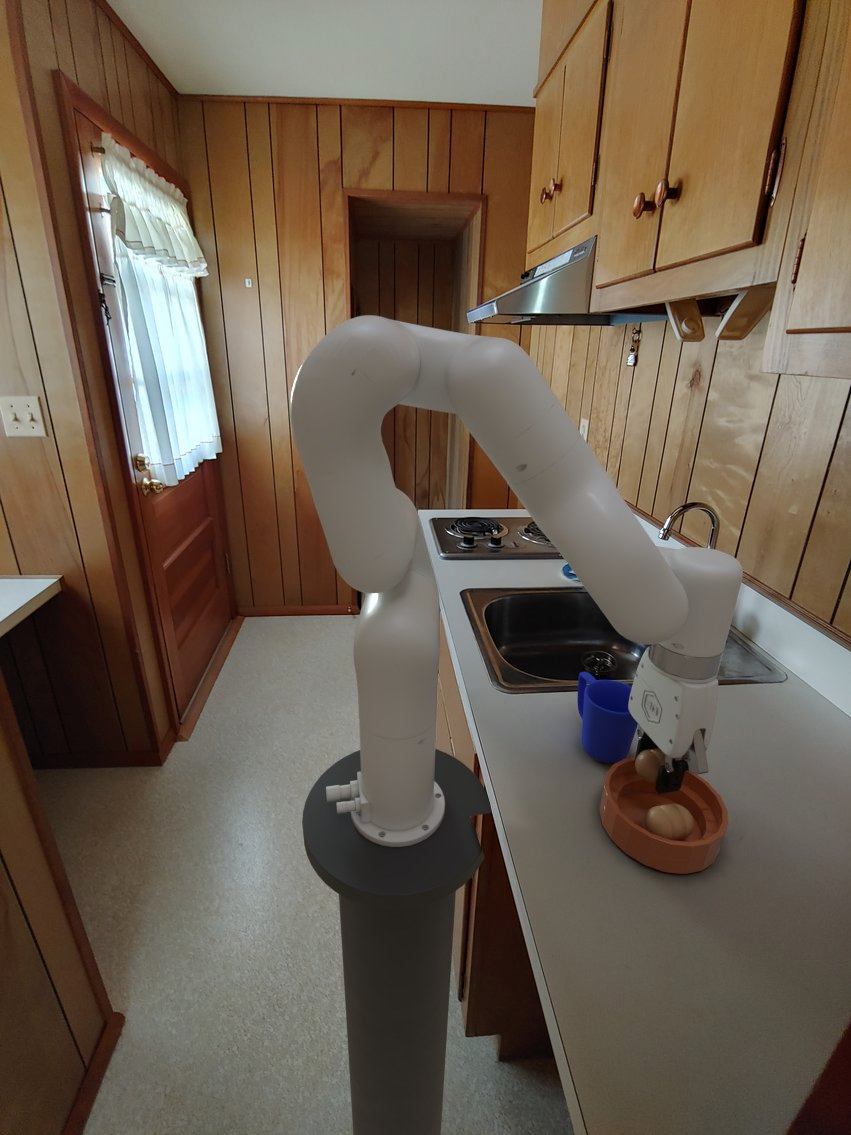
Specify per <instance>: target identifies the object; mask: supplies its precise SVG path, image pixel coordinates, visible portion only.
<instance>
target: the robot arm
mask: <svg viewBox="0 0 851 1135" xmlns="http://www.w3.org/2000/svg"><path fill="white" fill-rule="evenodd" d="M398 405H401V406H407V407H412V408H419V409H423V410H431V411H434V412H440V413H441V412H442V413H448V414H455V415H457V416H458V418H459V420H461V422H462V423H463V425H464V427H465V428H466V429H467V431H468V432H469V433H470V435H471V437H473V438H474V440H475V441H476V443H477V444H478V445H479V447H480V448H481V449H482V451H483V452H484V453H485V454H486V456H487V457H488V459H489V460H490V462H491V463H492V464H493V465H494V467H495V468H496V470H497V471H498V472H499V474H500V475H501V476H502V478H503V479H504V480H505V482H506V484H507V485H508V486H509V488H510V489H511V491H512V492H513V493H514V495H515V496H516V497H517V499H518V500H519V502H520V504H522V506H523V507H524V508H525V510H526V512H527V513H528V514H529V516H530V518H532V520H533V522H534V523H535V524H536V525H537V527H538V528H539V530H540V531H541V532H542V534H544V535H545V537H546V538H547V539H548V540H549V541H550V543H551V544H552V545H553V546H554V548H555V549H556V550H557V551H558V552H559V554H560V555H561V556H562V557H563V559H564V561H565V562H566V563H567V566H569V567H570V569H571V571H573V574H574V575H575V576H576V577H577V579H578V580H579V582H580V583H581V584H582V586H583V588H585V590H586V592H587V593H588V594H589V595H590V597H591V598H592V600H593V601H594V602H595V604H596V605H597V607H598V608H599V609H600V611H601V612H602V614H603V615H604V616H605V617H606V619H607V620H608V622H609V623H610V625H611V626H612V628H614V630H615V631H616V632H617V633H618V634H619V635H620V636H622V637H623V638H625V639H626V640H628V641H630V642H633V643H636V644H639V645H648V647H647V648H646V649H645V651H644V652H643V654H642V656H641V659H640V661H639V662H638V666H637V669H636V671H635V675H634V678H633V682H632V685H631V687H632V689H631V693H630V698H629V704H628V708H629V711H630V713H631V715H632V716H633V718H634V719H635V720H636V722H637V723H638V725H637V729H636V735H637V737H638V740H637V746H636V750H635V755H634V757H635V760H634V763H635V761H636V758H637V756H638V755H639V754H640V753H641V752H642V751H644V750H648V749H655V748H660V749H661V750H662V751H663V752H664V753H665V765H662V766H660V769H659V774H658V778H657V782H656V787H655V790H656V791H657V793H658V794H662V793H668V792H674V791H678V790H680V789H681V786H682V782H683V778H684V774H685V771H688V772H690V773H694V774H697V775H703V774H708V773H709V771H710V769H709V764H708V758H707V754H706V752H707V750H708V747H709V745H710V742H711V739H712V736H713V732H714V726H715V722H716V716H717V707H718V698H719V679H718V678H717V677H718V674H719V670H720V667H721V664H722V663H721V662H722V658H723V655H724V652H725V647H726V645H727V644H726V643H727V640H728V635H729V632H730V628H731V624H732V620H733V617H734V613H735V609H736V605H737V601H738V598H739V594H740V590H741V586H742V581H743V577H744V569H743V566H742V564H741V563H740V561H739V560H738V558H736V557H734V556H733V555H731V554H729V553H727V552H724V551H721V550H718V549H713V548H709V547H701V546H688V547H682V548H673V547H665V546H660V545H659V546H658V545H656V544H655V542H654V541H653V539H652V537H651V536H650V535H649V534H648V533H647V531H646V529H645V528H644V526H643V525H642V524H641V522H640V521H639V519H638V518H637V516H636V515H635V514H634V511H633V510H631V508H630V506H629V504H627V502H626V500H625V499H624V497H623V496H622V494H621V492H620V491H619V489H618V488H617V486H616V484H615V483H614V481H613V480H612V478H611V476H610V475H609V474H608V472H607V470H606V469H605V468H604V466H603V465H602V463H601V462H600V460H599V459H598V457H597V456H596V454H595V453H594V452H593V449H592V447H590V445H589V444H588V443H587V440H585V438H584V436H583V434H582V433H581V431H579V429H578V428H577V426H576V424H575V423H574V422H573V420H572V418H571V416H569V414H568V412H567V410H566V409H565V408H564V406H563V405H562V404H561V401H560V400H559V398H558V397H557V395H556V393H555V392H554V391H553V389H552V388H551V386H550V384H549V383H548V382H547V380H546V379H545V377H544V376H543V374H542V373H541V371H540V369H539V368H538V366H537V365H536V364H535V362H534V361H533V359H532V358H531V357H530V355H529V354H528V353H527V352H526V350H524V349H523V348H522V347H521V346H520V345H519V344H518V343H516V342H514V341H512V340H511V339H508V338H504V337H497V336H487V335H477V334H470V333H463V332H456V331H451V330H445V329H442V328H441V329H440V328H435V327H430V326H424V325H421V324H415V323H409V322H405V321H400V320H395V319H390V318H387V317H384V316H381V315H375V314H373V315H371V314H365V315H359V316H356V317H353V318H350V319H347V320H344V321H343V322H341V323H340V324H338V325H337V326H335V327H334V328H333V329H331V330H330V331H328V333H326V334H325V335H324V336H323V337H322V338H321V339H320V340H319V341H318V342H317V343H316V344H315V346H313V348H312V349H311V350H310V352H309V353H308V355H307V356H306V357H305V359H304V360H303V362H302V364H301V365H300V367H299V369H298V371H297V374H296V376H295V378H294V382H293V385H292V389H291V395H290V403H289V420H290V426H291V427H290V428H291V432H292V436H293V440H294V443H295V447H296V450H297V453H298V457H299V460H300V462H301V465H302V469H303V471H304V474H305V477H306V480H307V483H308V486H309V489H310V494H311V497H312V500H313V504H314V507H315V510H316V512H317V516H318V519H319V522H320V525H321V528H322V531H323V534H324V537H325V540H326V544H327V547H328V550H329V554H330V557H331V559H332V563H333V566H334V567H335V569H336V571H337V573H338V575H339V577H340V578H342V580H343V581H344V582H345V583H346V584H347V585H348V586H350V588H353V589H354V590H356V591H358V592H361V593H364V596H365V597H364V600H363V603H362V606H361V609H360V613H359V615H358V618H357V623H356V627H355V632H354V639H353V650H352V652H353V653H352V655H353V664H354V671H355V677H356V687H357V704H358V705H357V706H358V720H359V721H358V722H359V724H358V725H359V726H358V727H359V750H360V757H361V772H357V780H355V781H350V784H349V785H342V786H339V785H335V786H328V787H326V795H327V802H332V801H339V800H341V799H348V798H351V801H348V802H346V801H344V802H337V814H340V813H347V812H351V819H352V821H353V823H354V826H355V827H356V829H357V830H358V831H359V833H361V834H362V835H363V836H364V837H365V838H367V839H368V840H370V841H372V842H374V843H377V844H380V845H383V846H389V847H404V846H410V845H413V844H416V843H419V842H421V841H423V840H425V839H427V838H428V837H429V836H431V835H432V834H433V833H434V832H435V831H436V830H437V829H438V827H439V826H440V824H441V822H442V820H443V817H444V813H445V799H444V795H443V792H442V790H441V788H440V787H439V785H438V784H437V783H436V782H435V781H434V774H435V749H436V746H437V745H436V744H437V719H438V718H437V716H438V715H437V712H438V711H437V706H438V683H439V670H440V658H441V613H440V611H441V610H440V608H441V607H440V606H441V605H440V604H441V603H440V591H439V587H438V586H439V585H438V582H437V579H436V574H435V571H434V567H433V564H432V559H431V555H430V553H429V552H430V551H429V548H428V545H427V544H428V543H427V541H426V538H425V533H424V530H423V526H422V523H421V519H420V515H419V512H418V510H417V508H416V506H415V504H414V502H413V501H412V500H411V498H410V497H409V496H408V495H407V494H406V493H404V492H403V491H402V490H400V489H399V488H397V487H396V483H395V481H394V476H393V472H392V466H391V462H390V459H389V456H388V453H387V450H386V448H385V444H384V443H383V437H382V424H383V420H384V419H385V416H386V414H387V413H388V412H390V411H391V410H392V409H393V408H395V407H396V406H398ZM678 757H681V760H675V759H676V758H678Z"/></svg>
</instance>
